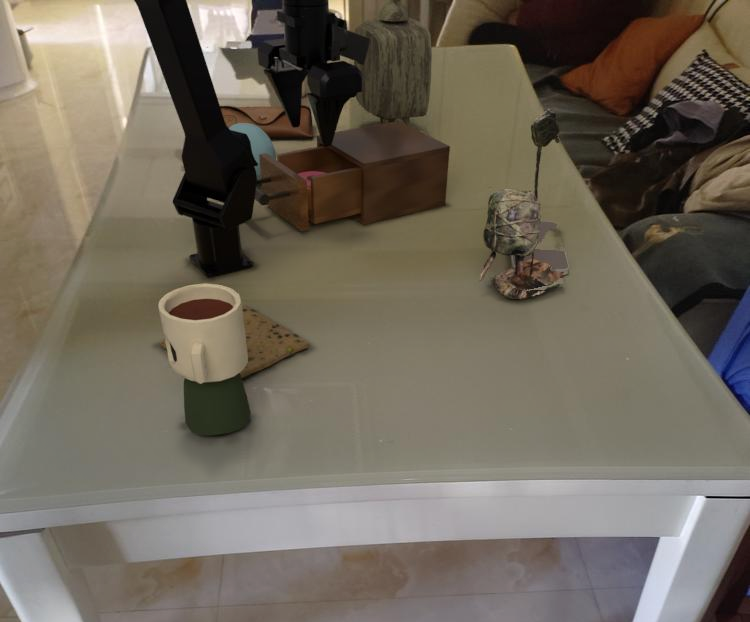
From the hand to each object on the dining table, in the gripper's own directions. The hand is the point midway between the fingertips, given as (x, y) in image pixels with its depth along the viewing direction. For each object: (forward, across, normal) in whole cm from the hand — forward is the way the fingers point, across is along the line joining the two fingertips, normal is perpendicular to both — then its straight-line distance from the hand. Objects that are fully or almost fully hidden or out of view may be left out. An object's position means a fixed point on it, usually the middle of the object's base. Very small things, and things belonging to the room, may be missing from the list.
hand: (311, 136), depth 104 cm
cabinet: (+11, 0, -12) cm, 16 cm away
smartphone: (+11, -26, -20) cm, 35 cm away
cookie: (+11, -28, +25) cm, 39 cm away
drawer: (+10, 0, +1) cm, 10 cm away
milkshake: (+11, +56, -26) cm, 63 cm away
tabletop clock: (+11, +26, -30) cm, 41 cm away
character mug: (+11, -40, +32) cm, 53 cm away
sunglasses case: (+11, +37, -10) cm, 40 cm away
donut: (+9, 0, 0) cm, 9 cm away
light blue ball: (+11, +17, +4) cm, 21 cm away
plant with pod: (+11, -33, -12) cm, 37 cm away
